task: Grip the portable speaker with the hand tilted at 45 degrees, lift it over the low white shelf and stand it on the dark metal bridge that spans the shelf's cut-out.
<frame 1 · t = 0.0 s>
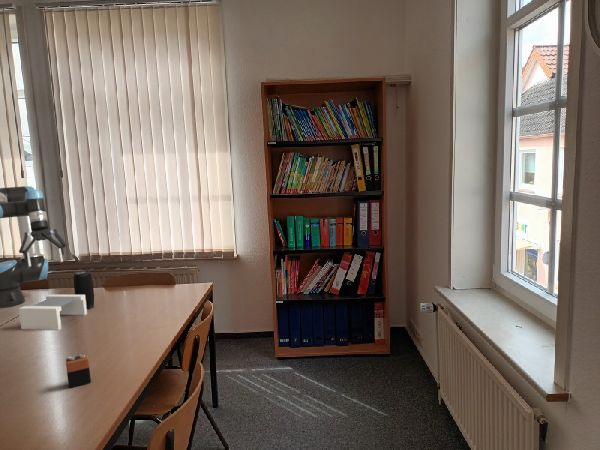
hand: (46, 264, 223), 28 cm above the table, tool tilted 20°, fingers open, 13 cm apart
shelf: (55, 321, 225), on the table
battery: (79, 383, 159), on the table
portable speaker: (86, 308, 244), on the table
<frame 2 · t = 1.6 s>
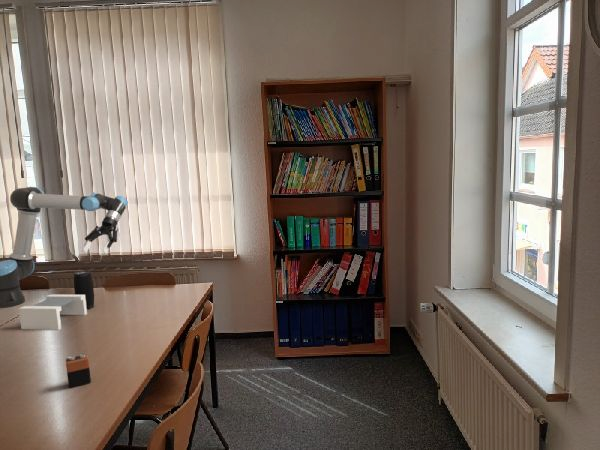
hand: (94, 252, 249), 28 cm above the table, tool tilted 45°, fingers open, 13 cm apart
nothing on the table moved.
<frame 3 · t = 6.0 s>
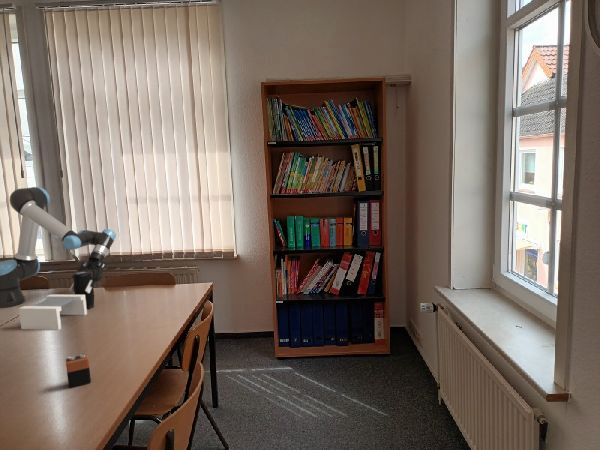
hand: (79, 291, 240), 10 cm above the table, tool tilted 45°, fingers closed on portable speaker, 9 cm apart
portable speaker: (86, 308, 244), on the table, touching gripper
everything else where it was.
when the fingers open (21 cm above the table, at t = 11.0 s): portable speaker drops 1 cm, resting on shelf.
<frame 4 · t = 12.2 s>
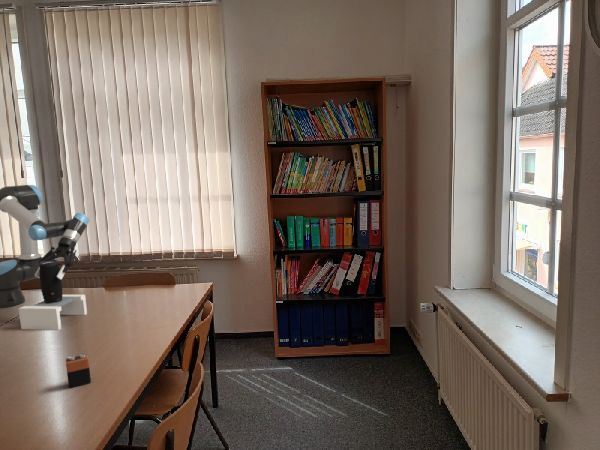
hand: (47, 277, 220), 22 cm above the table, tool tilted 45°, fingers open, 13 cm apart
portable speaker: (53, 301, 223), point 10 cm above the table, touching shelf
everything else where it was.
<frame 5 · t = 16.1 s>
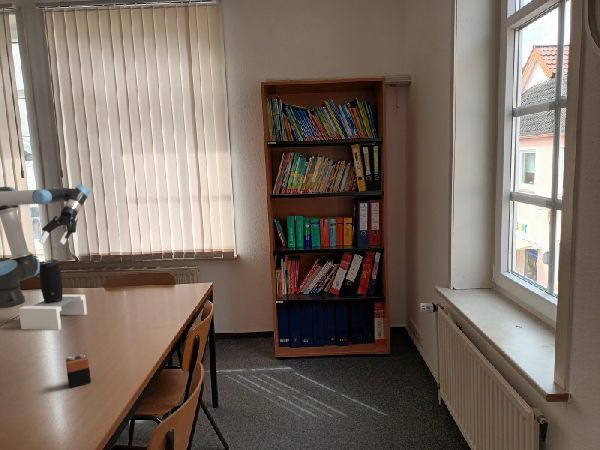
hand: (51, 242, 236), 36 cm above the table, tool tilted 45°, fingers open, 13 cm apart
nothing on the table moved.
at the end: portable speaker inside the target area on the shelf (0.1 cm from its centre), point 9.8 cm above the shelf's base; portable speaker tilted 0°; the gripper is holding nothing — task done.
